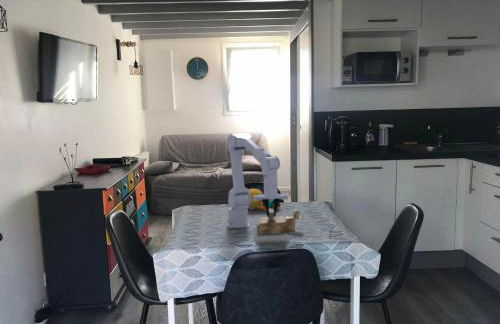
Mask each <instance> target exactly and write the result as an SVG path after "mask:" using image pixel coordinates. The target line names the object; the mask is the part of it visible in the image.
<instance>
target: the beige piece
mask: <svg viewBox="0 0 500 324" xmlns="http://www.w3.org/2000/svg"><path fill="white" fill-rule="evenodd" d="M292 211H293V216H284V217H285V218H284V219H286V220H295V221H301V220H302V217H301V216H300V211H301V210H299V209H294V210H292Z"/></svg>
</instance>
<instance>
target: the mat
mask: <svg viewBox="0 0 500 324" xmlns="http://www.w3.org/2000/svg"><path fill="white" fill-rule="evenodd" d="M254 238H255V244H258V245H260V244H261V245H262V244H263V243H264V244H284V243H285V244H286V243H290V242H291V241H290V238H289V236H288V233H286V232H283V233H271V234H258V233H256V234H255V233H254Z"/></svg>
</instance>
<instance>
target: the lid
mask: <svg viewBox="0 0 500 324" xmlns="http://www.w3.org/2000/svg"><path fill="white" fill-rule="evenodd" d="M284 217H285V216H283V215H279V216H277V215H276V216H275V217H274V210H273V209H269V217H267V216H258V217H257V220H258V222H259V225H261V226H262V227H265V226H283V224H285V220H284V219H285V218H284Z"/></svg>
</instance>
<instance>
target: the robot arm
mask: <svg viewBox="0 0 500 324" xmlns="http://www.w3.org/2000/svg"><path fill="white" fill-rule="evenodd" d="M227 148H228V152H229V155H230V165H231V166H230V167H231V176H232V185H233V186H232V188H231V189H230V190H229V191H228V200H227V201H228V202H227V203H228V205H229V207H228V209H227V210H228V219H227V223H228V228H229V229H235V228H236V229H237V228H239V229H240V228H242V229H243V228H250V224H249V217H248V216H249V215H248V214H249V213H248V212H249V211H248V209H249V208H248V207H249V205H250V203H251V196H250V193H249V188H247V187H245V179H244V178H245V177H244V169H243V160H242V158H243V157H242V153H243V152H244V151H246V150H248V151H250V152H251V153H252V156H253V158H254V159H255V160H256V161H257V162H258V163H259V164H260V168H261V171H262V176H263V195H254V201H257V200H262V201H263V204H264V206H265V208H266V210H265V212H266V217H269V202H268V200H273V206H274V209H273V210H274V217H275V216H277V210H278V209H279V206H278V205H279V204H281V200H287V201H288V200H289V194H288V193H286V194H285V193H279V191H278V170H279V168H280V166H281V162H280V159H279V158H278V156H277V155H271V153H269V152H268V151H267V150H266V149H265V147H259V146H258V145H257V143H256V142H255V141H253V136H252V135H251V134H250V133H249V132H245V133H231V134H229V135H228V137H227ZM278 193H279V194H278ZM277 208H278V209H277Z"/></svg>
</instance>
